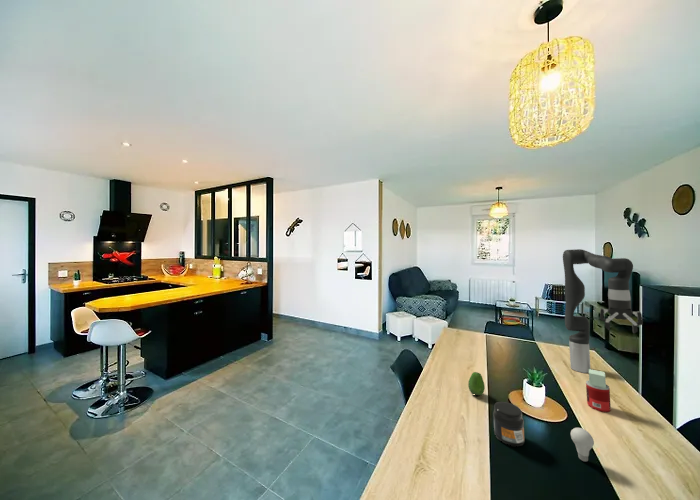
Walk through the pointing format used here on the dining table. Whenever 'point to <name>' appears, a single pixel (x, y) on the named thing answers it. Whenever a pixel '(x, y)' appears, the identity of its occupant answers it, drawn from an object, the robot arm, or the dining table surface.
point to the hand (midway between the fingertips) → (621, 331)
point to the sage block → (597, 378)
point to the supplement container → (508, 424)
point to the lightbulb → (582, 442)
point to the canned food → (598, 397)
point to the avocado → (476, 384)
